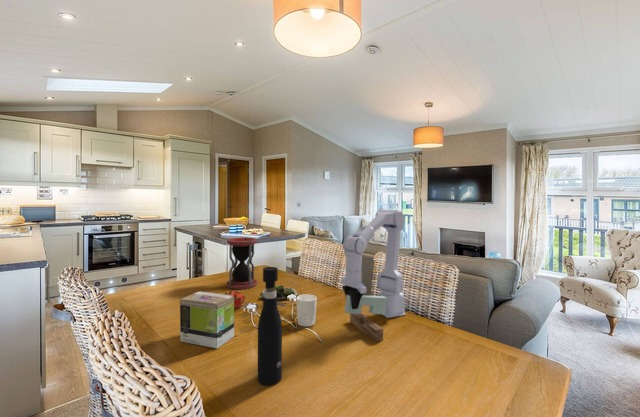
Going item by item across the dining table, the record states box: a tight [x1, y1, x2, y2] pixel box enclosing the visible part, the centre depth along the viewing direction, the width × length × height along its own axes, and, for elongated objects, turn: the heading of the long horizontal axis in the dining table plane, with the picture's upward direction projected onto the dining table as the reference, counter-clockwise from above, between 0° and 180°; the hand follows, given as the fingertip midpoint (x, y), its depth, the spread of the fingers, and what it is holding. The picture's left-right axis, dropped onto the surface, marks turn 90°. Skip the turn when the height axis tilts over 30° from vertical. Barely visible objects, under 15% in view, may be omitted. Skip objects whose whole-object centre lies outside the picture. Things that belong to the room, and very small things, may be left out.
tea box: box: [179, 290, 235, 349], centre depth 105 cm, size 15×10×15 cm, turn 71°
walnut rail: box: [349, 313, 384, 343], centre depth 113 cm, size 3×18×4 cm, turn 23°
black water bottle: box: [257, 266, 283, 387], centre depth 82 cm, size 6×6×30 cm
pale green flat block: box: [344, 294, 387, 315], centre depth 113 cm, size 16×2×6 cm, turn 114°
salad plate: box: [260, 284, 298, 302], centre depth 153 cm, size 19×18×5 cm
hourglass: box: [226, 237, 258, 290], centre depth 167 cm, size 16×16×25 cm
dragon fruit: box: [224, 289, 246, 311], centre depth 133 cm, size 8×8×12 cm
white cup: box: [296, 293, 318, 327], centre depth 119 cm, size 8×8×10 cm
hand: (352, 307), depth 111 cm, fingers closed on pale green flat block, 2 cm apart
